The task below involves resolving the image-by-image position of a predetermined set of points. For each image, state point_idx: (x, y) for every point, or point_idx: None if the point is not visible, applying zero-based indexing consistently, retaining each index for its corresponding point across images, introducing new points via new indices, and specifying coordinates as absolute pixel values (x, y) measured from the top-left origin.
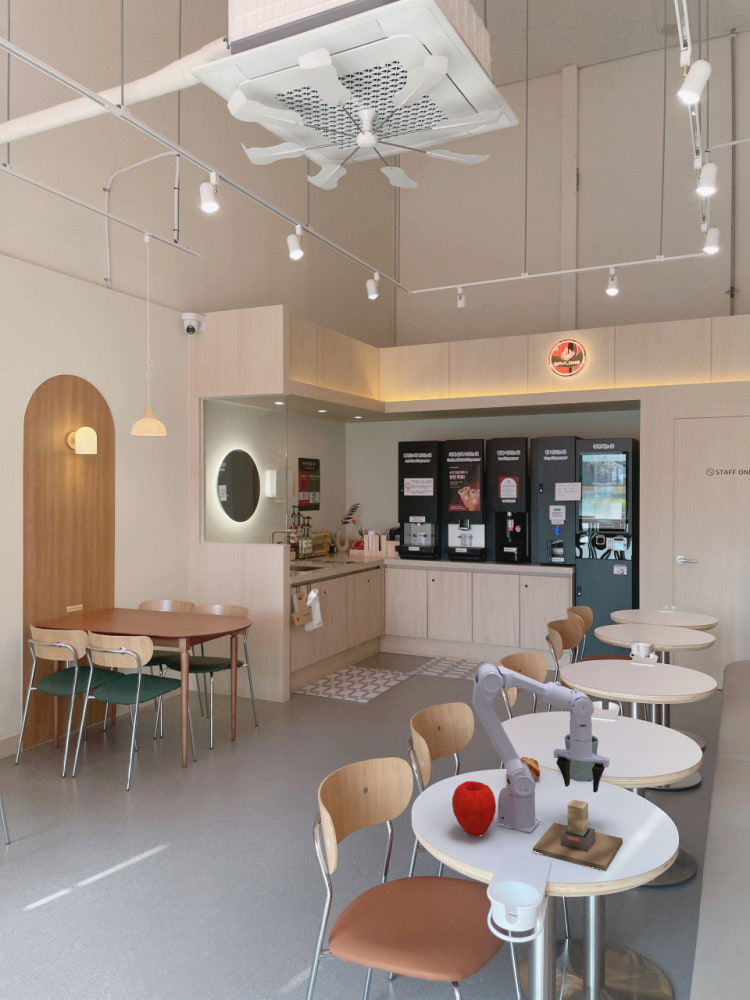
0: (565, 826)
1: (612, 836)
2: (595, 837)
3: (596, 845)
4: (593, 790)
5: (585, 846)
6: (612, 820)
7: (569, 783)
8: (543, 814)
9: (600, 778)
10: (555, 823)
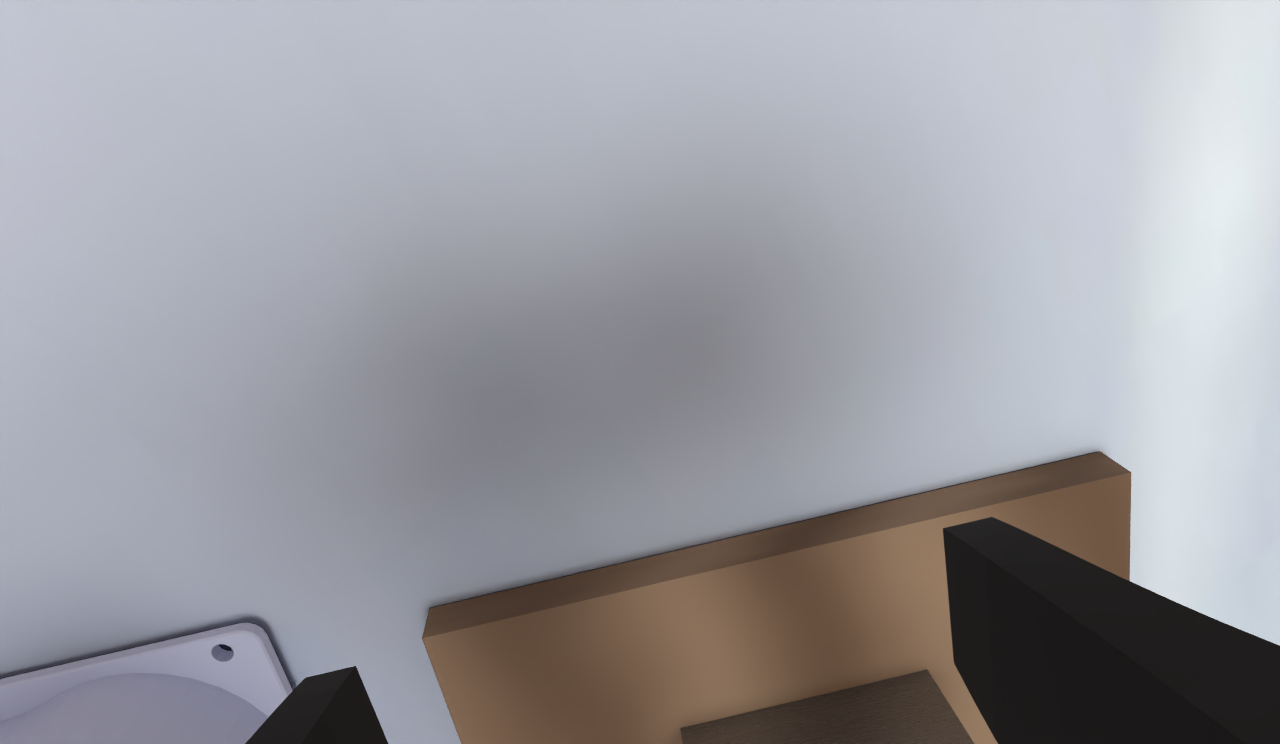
0: (563, 631)
1: (1035, 505)
2: (940, 690)
3: (965, 729)
4: (978, 696)
5: None
6: (843, 27)
7: (358, 705)
8: (142, 451)
9: (1261, 642)
10: (448, 646)
